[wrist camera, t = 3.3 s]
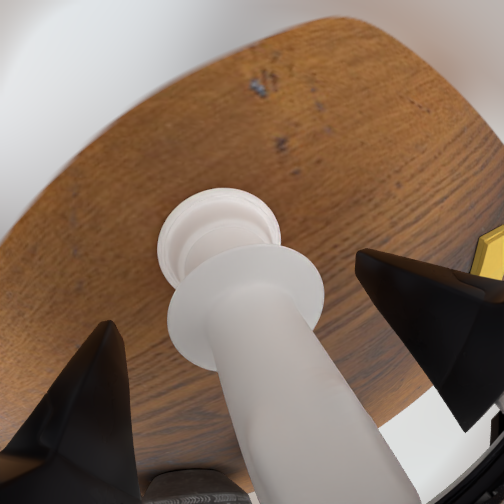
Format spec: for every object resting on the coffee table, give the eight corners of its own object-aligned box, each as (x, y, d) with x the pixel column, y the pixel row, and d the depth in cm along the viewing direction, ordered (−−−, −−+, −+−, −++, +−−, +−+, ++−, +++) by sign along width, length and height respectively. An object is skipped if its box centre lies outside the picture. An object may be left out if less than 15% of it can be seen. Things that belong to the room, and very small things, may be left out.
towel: (448, 333, 24) (454, 339, 23) (479, 237, 19) (488, 242, 18) (488, 301, 26) (494, 306, 25) (513, 218, 21) (521, 222, 20)
